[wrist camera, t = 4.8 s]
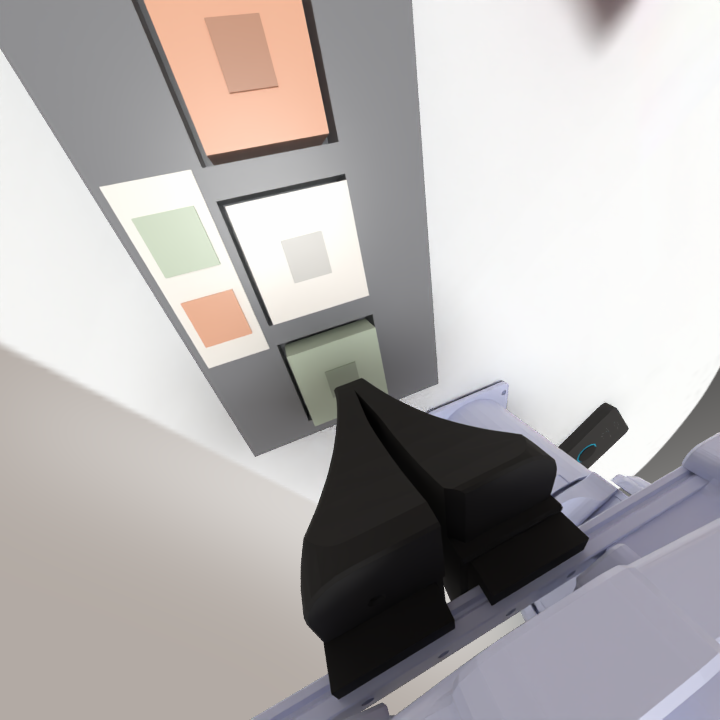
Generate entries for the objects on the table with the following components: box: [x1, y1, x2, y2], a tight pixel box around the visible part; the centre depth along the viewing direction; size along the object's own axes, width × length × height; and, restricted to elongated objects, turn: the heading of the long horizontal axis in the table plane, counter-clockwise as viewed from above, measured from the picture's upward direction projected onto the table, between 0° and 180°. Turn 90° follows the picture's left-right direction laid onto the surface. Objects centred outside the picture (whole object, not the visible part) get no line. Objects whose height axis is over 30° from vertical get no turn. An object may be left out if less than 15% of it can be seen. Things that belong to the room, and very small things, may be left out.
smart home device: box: [558, 403, 629, 469], centre depth 34 cm, size 8×2×20 cm
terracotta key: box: [144, 0, 329, 165], centre depth 9 cm, size 4×4×2 cm
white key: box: [225, 180, 369, 325], centre depth 11 cm, size 4×4×2 cm
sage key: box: [285, 319, 388, 426], centre depth 14 cm, size 4×4×2 cm
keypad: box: [0, 0, 438, 457], centre depth 12 cm, size 19×12×3 cm, turn 14°
